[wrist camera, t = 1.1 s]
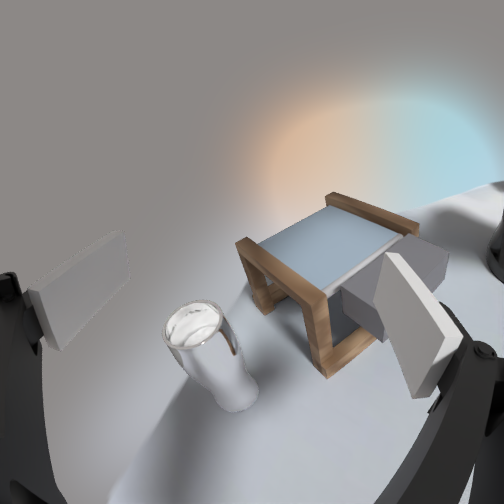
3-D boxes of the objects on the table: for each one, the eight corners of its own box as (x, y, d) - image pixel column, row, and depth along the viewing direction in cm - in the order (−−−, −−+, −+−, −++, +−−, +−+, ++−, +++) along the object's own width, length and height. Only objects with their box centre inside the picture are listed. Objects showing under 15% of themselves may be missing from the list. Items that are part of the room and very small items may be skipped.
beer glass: (269, 376, 36) (235, 300, 28) (251, 420, 31) (204, 357, 23) (224, 368, 39) (181, 295, 31) (205, 408, 34) (148, 342, 26)
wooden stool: (338, 254, 54) (329, 190, 46) (416, 300, 38) (425, 226, 31) (255, 306, 48) (231, 240, 41) (327, 379, 33) (317, 310, 26)
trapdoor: (375, 349, 24) (378, 322, 22) (261, 258, 42) (253, 235, 39) (448, 274, 28) (452, 247, 26) (331, 218, 45) (328, 196, 43)
